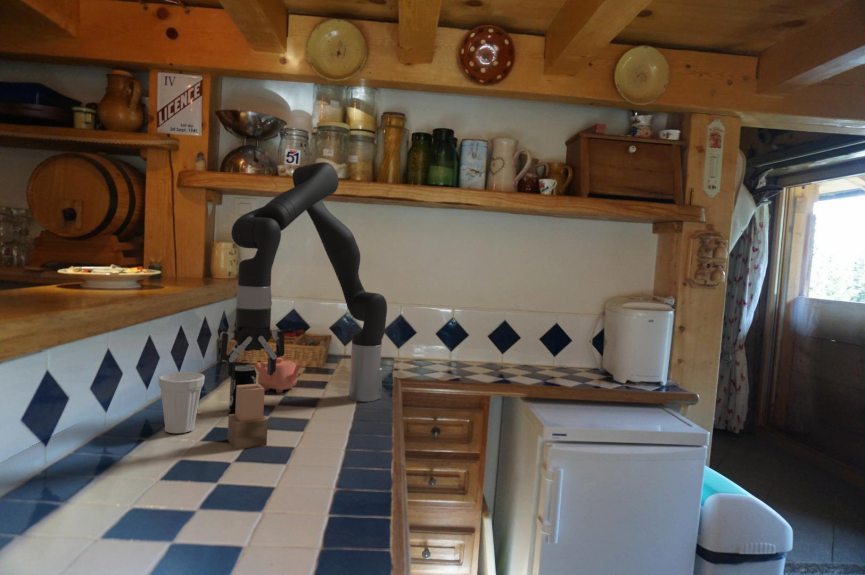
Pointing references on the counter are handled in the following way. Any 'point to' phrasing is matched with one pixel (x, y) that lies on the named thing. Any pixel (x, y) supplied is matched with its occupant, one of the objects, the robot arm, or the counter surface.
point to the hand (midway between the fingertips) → (251, 376)
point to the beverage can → (241, 382)
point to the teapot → (278, 375)
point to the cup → (180, 399)
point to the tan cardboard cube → (249, 402)
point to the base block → (247, 432)
